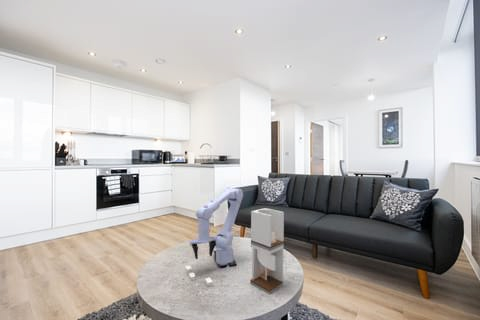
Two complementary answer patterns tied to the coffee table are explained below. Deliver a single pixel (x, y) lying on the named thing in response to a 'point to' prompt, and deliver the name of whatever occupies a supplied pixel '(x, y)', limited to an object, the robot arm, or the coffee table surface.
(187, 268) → the switch
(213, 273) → the coffee table surface
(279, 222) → the white wooden shelf tower
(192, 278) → the switch
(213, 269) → the coffee table surface
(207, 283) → the switch
